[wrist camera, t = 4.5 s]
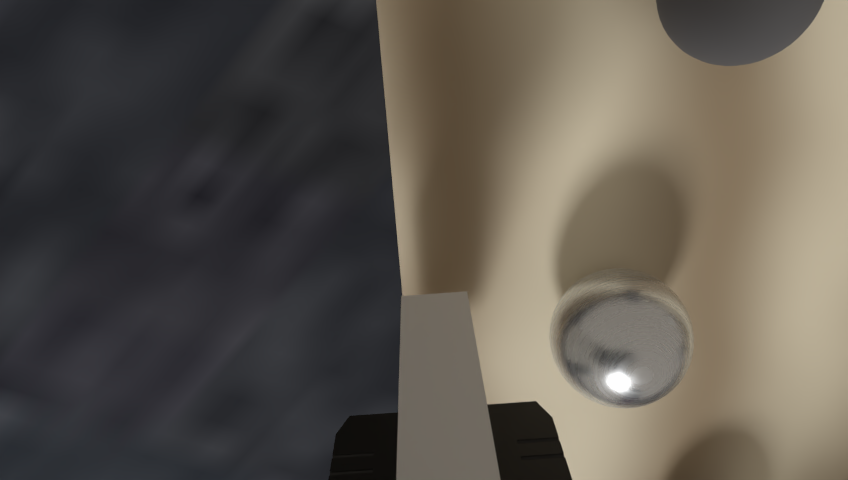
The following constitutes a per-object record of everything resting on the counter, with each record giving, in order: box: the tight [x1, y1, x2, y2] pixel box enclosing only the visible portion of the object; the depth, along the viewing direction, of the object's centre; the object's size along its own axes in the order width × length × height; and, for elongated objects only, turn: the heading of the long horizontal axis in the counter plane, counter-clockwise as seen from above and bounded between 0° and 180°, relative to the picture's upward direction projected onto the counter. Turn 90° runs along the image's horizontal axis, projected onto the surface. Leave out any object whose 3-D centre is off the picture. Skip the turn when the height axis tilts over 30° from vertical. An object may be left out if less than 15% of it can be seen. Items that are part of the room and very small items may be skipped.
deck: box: [376, 0, 848, 480], centre depth 18 cm, size 24×20×2 cm
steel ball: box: [550, 268, 694, 408], centre depth 15 cm, size 3×3×3 cm
